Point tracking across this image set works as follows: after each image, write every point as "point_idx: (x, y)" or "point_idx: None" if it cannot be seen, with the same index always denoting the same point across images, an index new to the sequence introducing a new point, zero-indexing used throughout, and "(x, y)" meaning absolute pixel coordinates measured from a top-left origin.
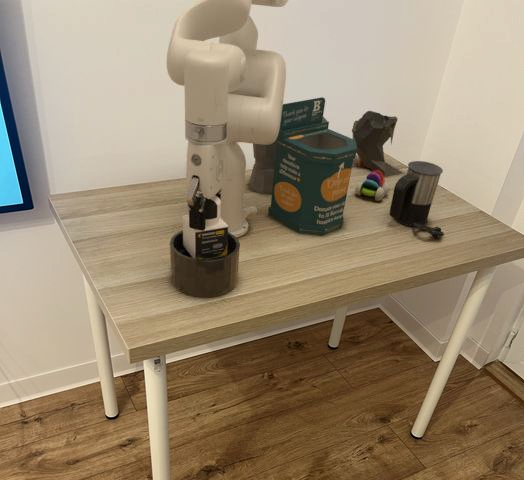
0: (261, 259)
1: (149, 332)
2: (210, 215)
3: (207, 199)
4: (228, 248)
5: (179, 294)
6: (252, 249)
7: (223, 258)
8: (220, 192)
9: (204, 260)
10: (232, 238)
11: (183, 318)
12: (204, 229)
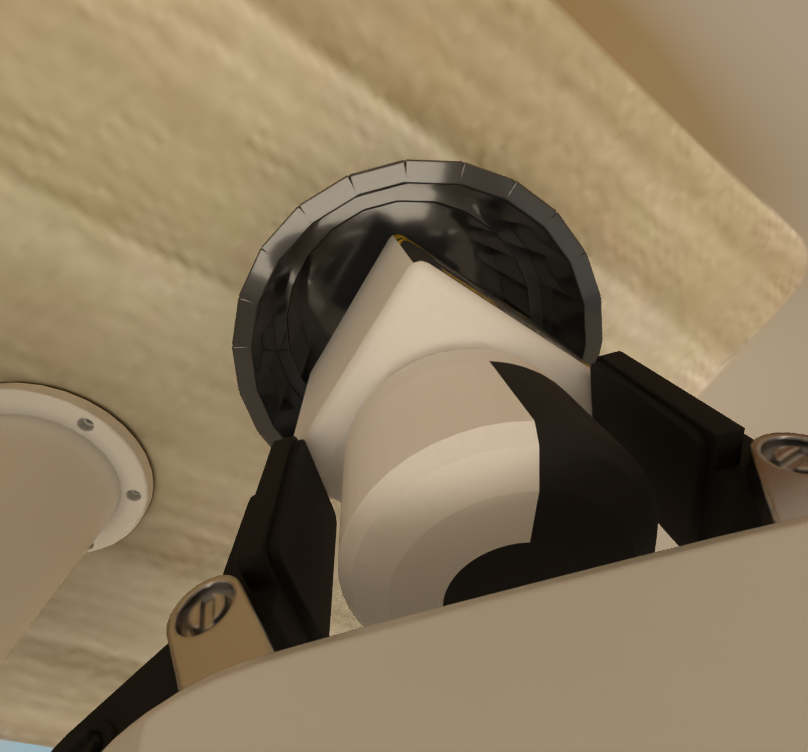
0: (101, 205)
1: (743, 266)
2: (570, 398)
3: (559, 555)
4: (272, 300)
5: None
6: (71, 287)
7: (512, 186)
8: (214, 579)
9: (581, 264)
10: (267, 287)
11: (642, 223)
12: (620, 351)
